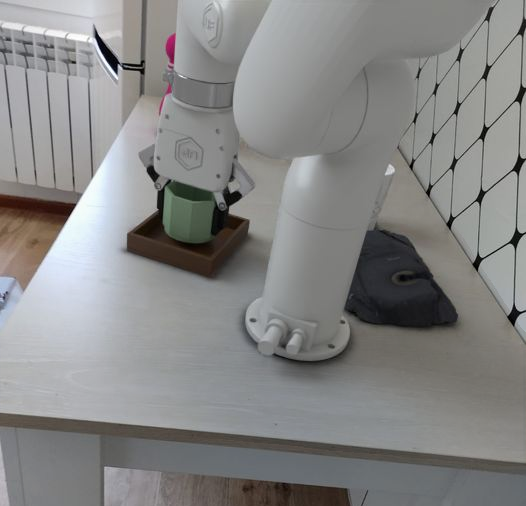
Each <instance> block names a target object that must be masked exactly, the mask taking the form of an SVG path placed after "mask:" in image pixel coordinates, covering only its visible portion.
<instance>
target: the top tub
mask: <svg viewBox="0 0 526 506" xmlns="http://www.w3.org/2000/svg"><path fill="white" fill-rule="evenodd" d="M216 207H217V202H216V199H215V197H214V194H213V192H210V191H206V190H203V189H199V188H196V187H193V186H189V185H186V184H183V183H180V182H176V181H173V180H172V181H171V183H169V184H168V185H166V186H165V195H164V211H163V225H164V229H165V232H166V233H167V234H168V235H169V236H170V237H172V238H174V239H176V240H179V241H182V242H187V243H204V242H208V241H210V240H212V239H213V238H214V237H215V236H213V235H212V234H211V226H212V217H213V210H214V209H215V208H216Z"/></svg>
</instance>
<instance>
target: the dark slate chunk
mask: <svg viewBox="0 0 526 506" xmlns="http://www.w3.org/2000/svg"><path fill="white" fill-rule="evenodd" d="M344 310H347V311H348V312H350V313H352V314H356V315H357V316H358V317H359V320H360V321H362V322H364V323H365V322H369V323H370V324H378V325H383V324H390V325H395V326H404V327H413V328H424V327H429V326H430V325H436V326H438V325H439V324H444V323H445V322H446V323H447V322H448V323H457V322H458V319H459V313H458V312H457V310H456V307H455V306H454V304H453V303H452V300H451V299H450V298H449V296H448V295H447V294H446V293H445V292H444V290H443V289H442V287H441V286H440V285H439V284H438V283H437V281H436V280H435V279H434V275H433V273H432V272H431V269H430V268H429V266H427V264H426V262H425V261H424V260H423V257H421V255H420V254H419V253H418V252H417V249H416V247H415V246H414V243H413V242H412V241H411V239H410V238H409V237H408V236H406V235H405V234H401V233H396V232H391V231H390V230H387V229H383V228H382V229H380V228H378V229H373V230H370V231H366V235H365V238H364V242H363V245H362V248H361V252H360V255H359V259H358V262H357V266H356V269H355V272H354V276H353V279H352V283H351V286H350V290H349V293H348V296H347V300H346V303H345V307H344Z"/></svg>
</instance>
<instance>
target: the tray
mask: <svg viewBox="0 0 526 506" xmlns="http://www.w3.org/2000/svg"><path fill="white" fill-rule="evenodd" d="M158 211H159V209H156V211H155V212H153V213H152V214H151V215H149V216H148V217H147V218H145V219H143V221H141V222H140V223H139V224H138V225H136V226H135V227H134V228H132V229H131V230H130V231H129V232H126V251H127V252H130V253H133V254H136V255H138V256H142V257H145V258H148V259H151V260H154V261H158V262H161V263H163V264H167V265H169V266H173V267H176V268H179V269H182V270H185V271H188V272H192V273H194V274H198V275H200V276H204V277H207V278H212V276H213V275H214V274H215V273H216V272H217V271H218V270H219V268H220V267H221V266H223V264H224V263H225V262H226V261H227V259H228V258H229V257H230V256H231V255H232V254H233V252H235V250H236V249H237V248H238V247H239V246H240V245H241V244H242V242H243V241H244V240H246V238H247V237H248V234H249V230H250V229H249V228H250V224H251V223H250V222H251V220H250V219H248V218H245V217H242V216H238V215H235V214H232V213H229V214H228V221H227V226H226V228H225V229H224V230H223V229H222V230H221V231H220V232H219V233H218V234H217V235H216V236H215V237H214V238H213V239H212V240H210V241H208V242H204V243H187V242H182V241H179V240H176V239H174V238H172V237H170V236H169V235H168V234H167V233H166V232H165V229H164V225H163V219H160V218H158Z"/></svg>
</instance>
